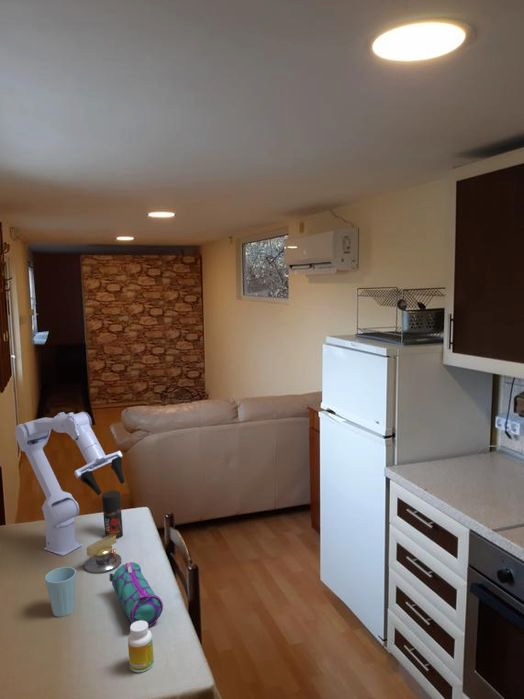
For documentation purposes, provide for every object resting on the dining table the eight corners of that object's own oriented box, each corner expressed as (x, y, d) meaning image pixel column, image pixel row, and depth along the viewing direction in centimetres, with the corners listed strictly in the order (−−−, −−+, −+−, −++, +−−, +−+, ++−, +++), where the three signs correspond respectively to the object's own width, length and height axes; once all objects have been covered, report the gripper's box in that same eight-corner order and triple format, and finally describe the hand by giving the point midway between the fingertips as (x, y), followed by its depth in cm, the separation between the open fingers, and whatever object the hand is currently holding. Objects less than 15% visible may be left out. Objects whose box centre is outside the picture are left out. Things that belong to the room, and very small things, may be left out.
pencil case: (110, 595, 153) (107, 563, 152) (141, 586, 158) (139, 554, 156) (131, 637, 135) (129, 601, 134) (166, 625, 140) (164, 590, 138)
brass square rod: (82, 557, 167) (81, 546, 166) (107, 542, 175) (106, 532, 175) (96, 562, 164) (95, 550, 163) (121, 547, 172) (120, 536, 172)
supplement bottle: (152, 672, 123) (149, 632, 122) (127, 674, 123) (125, 634, 121) (155, 655, 128) (152, 617, 127) (131, 657, 128) (128, 619, 127)
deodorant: (125, 531, 191) (122, 490, 189) (119, 540, 185) (116, 497, 183) (109, 531, 192) (105, 490, 190) (102, 539, 186) (99, 497, 184)
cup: (79, 599, 152) (76, 564, 150) (78, 616, 144) (75, 579, 143) (50, 605, 149) (46, 569, 148) (47, 622, 142) (44, 584, 141)
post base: (76, 567, 168) (75, 553, 168) (104, 551, 178) (103, 537, 177) (102, 577, 163) (100, 562, 162) (128, 560, 172) (127, 545, 171)
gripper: (70, 453, 158) (91, 495, 154) (115, 434, 167) (136, 473, 163) (66, 462, 163) (86, 502, 160) (110, 443, 172) (130, 480, 169)
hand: (111, 488), depth 162 cm, fingers open, 7 cm apart
